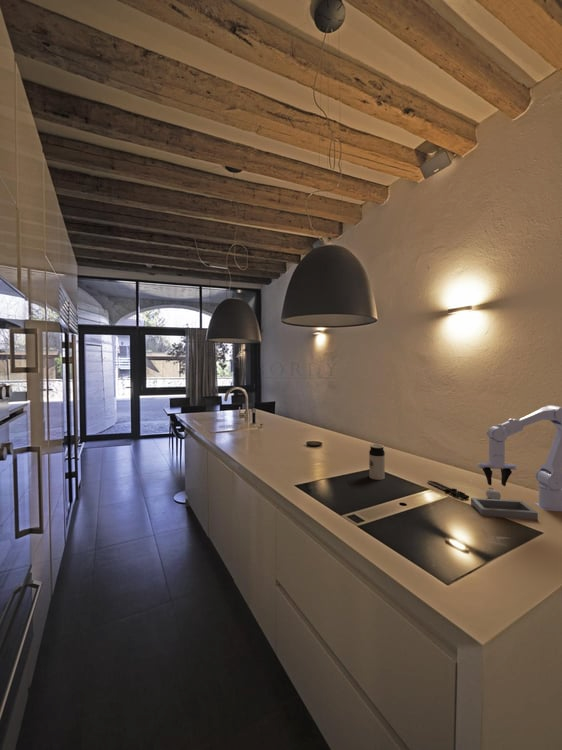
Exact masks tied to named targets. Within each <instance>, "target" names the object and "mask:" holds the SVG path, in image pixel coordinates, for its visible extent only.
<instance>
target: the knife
mask: <svg viewBox="0 0 562 750" xmlns="http://www.w3.org/2000/svg"><path fill="white" fill-rule="evenodd" d="M427 482H428V483H429V484H431V485H434V486H436V487H438V488H440V489H441V490H445V493H449V494H450V495H452V496H453V497H456V498H459V499H462V500H466V499H467V500H468V499H470V496H469V495H468V494H466V493H465V492H463V491H459V490H457V488H451V487H448V486H446V485H443V484H441V483H440V482H437V481H434V480H427Z"/></svg>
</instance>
